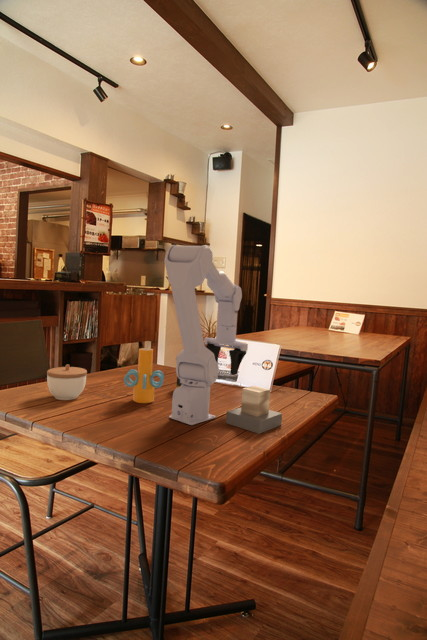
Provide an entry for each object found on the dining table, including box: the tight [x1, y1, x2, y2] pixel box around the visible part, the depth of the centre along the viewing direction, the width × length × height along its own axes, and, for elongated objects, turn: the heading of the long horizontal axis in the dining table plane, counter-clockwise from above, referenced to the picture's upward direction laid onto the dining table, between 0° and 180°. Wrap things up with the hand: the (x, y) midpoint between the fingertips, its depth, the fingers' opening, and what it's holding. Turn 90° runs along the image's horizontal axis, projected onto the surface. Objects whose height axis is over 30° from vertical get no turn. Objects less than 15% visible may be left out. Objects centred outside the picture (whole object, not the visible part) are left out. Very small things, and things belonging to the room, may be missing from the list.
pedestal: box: [225, 407, 283, 435], centre depth 105 cm, size 10×10×3 cm
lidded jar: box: [46, 364, 88, 401], centre depth 119 cm, size 11×11×9 cm
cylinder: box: [123, 347, 165, 404], centre depth 120 cm, size 12×10×15 cm
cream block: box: [241, 385, 271, 417], centre depth 105 cm, size 5×5×6 cm
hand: (223, 372), depth 121 cm, fingers open, 7 cm apart
